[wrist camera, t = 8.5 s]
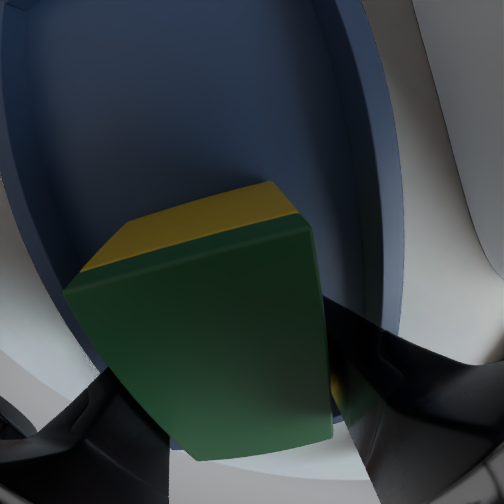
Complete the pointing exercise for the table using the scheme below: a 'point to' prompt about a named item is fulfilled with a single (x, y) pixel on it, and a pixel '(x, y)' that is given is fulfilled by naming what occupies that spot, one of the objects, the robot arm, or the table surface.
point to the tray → (200, 131)
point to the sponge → (215, 322)
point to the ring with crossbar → (472, 104)
